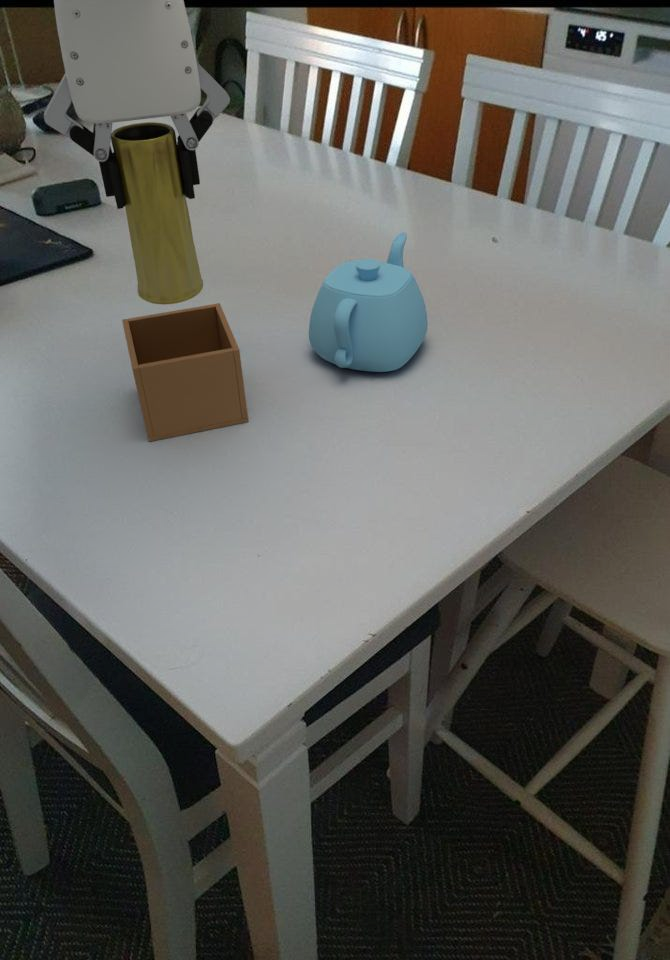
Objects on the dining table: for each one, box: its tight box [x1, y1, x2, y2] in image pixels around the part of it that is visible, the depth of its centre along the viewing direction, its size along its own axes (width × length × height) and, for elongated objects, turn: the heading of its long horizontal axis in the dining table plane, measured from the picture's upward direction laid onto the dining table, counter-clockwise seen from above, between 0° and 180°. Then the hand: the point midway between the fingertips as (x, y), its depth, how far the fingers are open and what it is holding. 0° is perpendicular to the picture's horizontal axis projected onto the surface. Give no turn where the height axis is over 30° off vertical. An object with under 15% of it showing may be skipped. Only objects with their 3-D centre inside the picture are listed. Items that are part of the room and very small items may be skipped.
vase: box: [110, 121, 204, 305], centre depth 71 cm, size 6×6×14 cm
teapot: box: [308, 232, 429, 373], centre depth 90 cm, size 13×11×18 cm
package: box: [121, 302, 249, 443], centre depth 83 cm, size 10×10×8 cm
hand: (154, 196), depth 70 cm, fingers closed on vase, 5 cm apart
